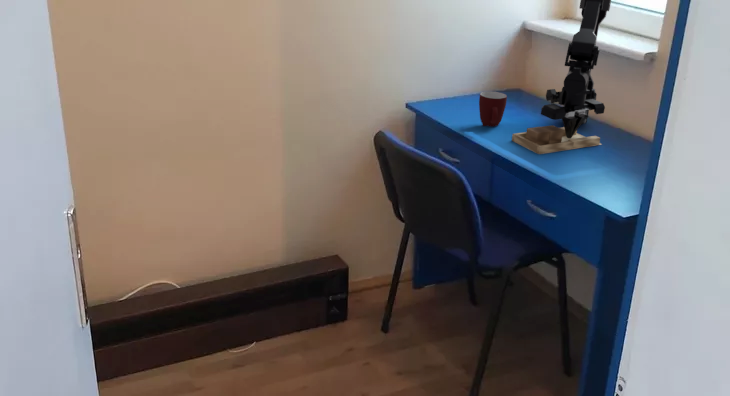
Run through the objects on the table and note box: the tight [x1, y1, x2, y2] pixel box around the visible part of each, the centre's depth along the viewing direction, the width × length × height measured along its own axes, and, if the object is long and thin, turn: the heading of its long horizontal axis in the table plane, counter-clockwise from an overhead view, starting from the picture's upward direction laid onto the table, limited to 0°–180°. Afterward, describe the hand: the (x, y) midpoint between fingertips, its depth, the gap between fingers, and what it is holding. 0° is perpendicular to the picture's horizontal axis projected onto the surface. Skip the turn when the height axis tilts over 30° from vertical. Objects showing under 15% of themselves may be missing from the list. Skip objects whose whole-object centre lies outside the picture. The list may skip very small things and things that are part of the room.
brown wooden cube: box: [526, 126, 550, 146], centre depth 207 cm, size 4×4×4 cm
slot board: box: [511, 126, 603, 155], centre depth 210 cm, size 23×12×3 cm, turn 117°
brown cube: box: [541, 124, 563, 144], centre depth 209 cm, size 4×4×4 cm
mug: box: [478, 90, 508, 127], centre depth 222 cm, size 11×8×10 cm
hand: (568, 137), depth 212 cm, fingers closed
